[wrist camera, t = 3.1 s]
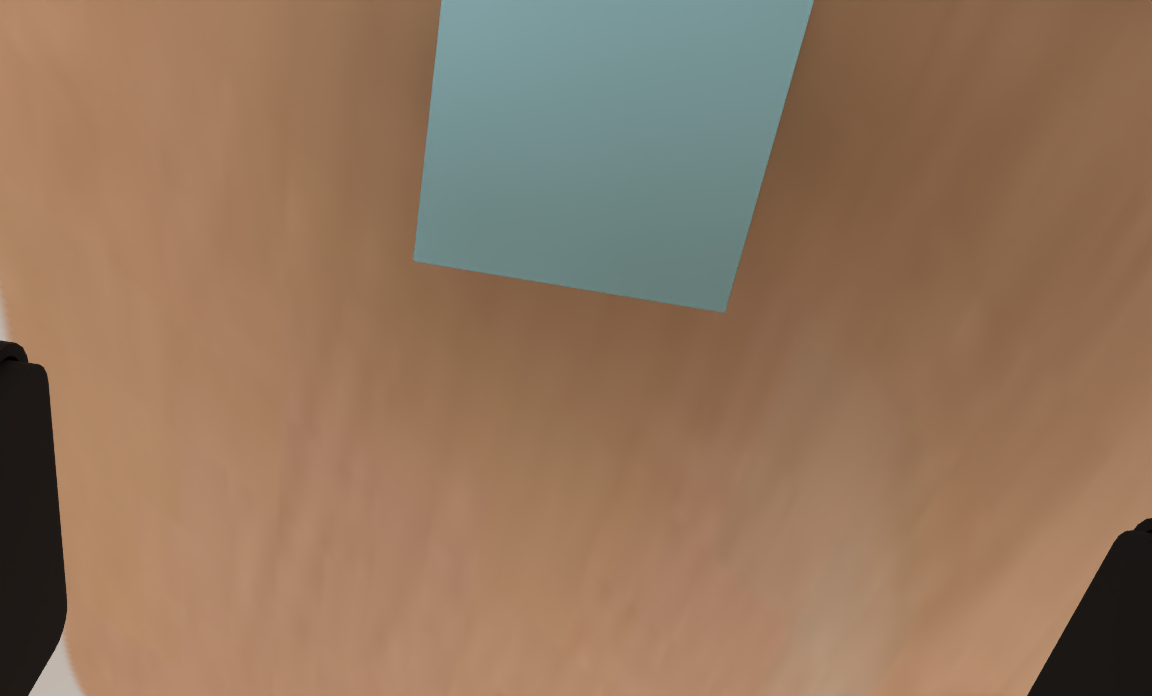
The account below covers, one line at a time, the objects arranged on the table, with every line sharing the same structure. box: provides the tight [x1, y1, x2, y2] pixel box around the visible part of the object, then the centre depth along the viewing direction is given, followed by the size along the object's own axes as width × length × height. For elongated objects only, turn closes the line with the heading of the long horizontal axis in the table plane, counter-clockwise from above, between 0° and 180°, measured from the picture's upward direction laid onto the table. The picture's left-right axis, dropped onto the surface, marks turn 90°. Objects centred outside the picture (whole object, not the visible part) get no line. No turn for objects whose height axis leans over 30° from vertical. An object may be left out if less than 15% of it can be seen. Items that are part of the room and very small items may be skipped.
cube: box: [413, 0, 814, 313], centre depth 21 cm, size 6×6×6 cm
